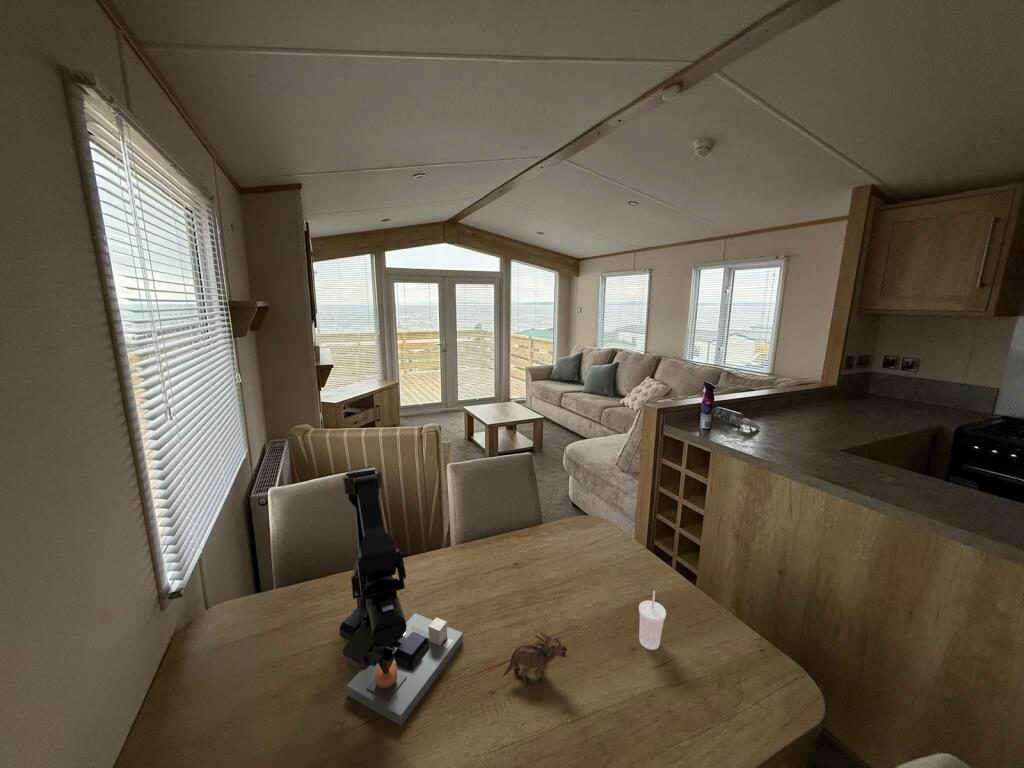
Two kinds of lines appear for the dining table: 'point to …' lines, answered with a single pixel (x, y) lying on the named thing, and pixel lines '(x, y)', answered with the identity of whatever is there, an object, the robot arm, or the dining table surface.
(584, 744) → the dining table surface
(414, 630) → the switch console
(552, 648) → the dinosaur figurine
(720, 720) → the dining table surface
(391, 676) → the push button
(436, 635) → the off-white cube
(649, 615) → the beverage cup
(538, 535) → the dining table surface
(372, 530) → the robot arm
